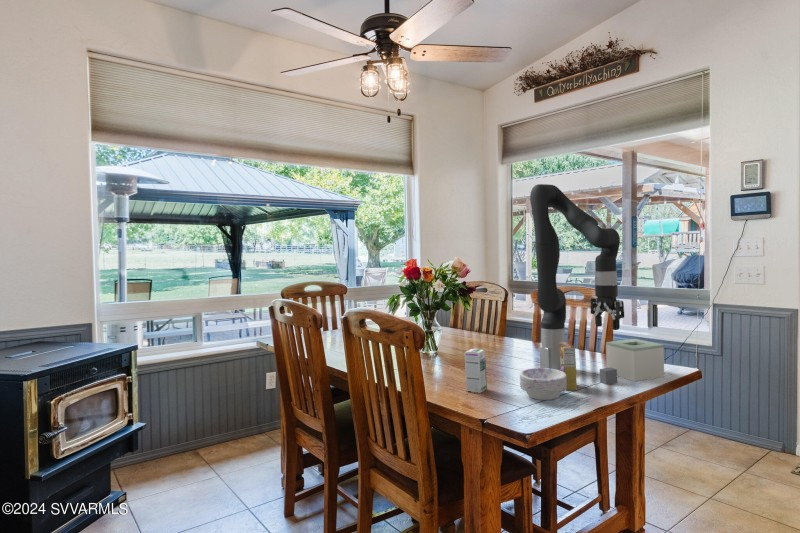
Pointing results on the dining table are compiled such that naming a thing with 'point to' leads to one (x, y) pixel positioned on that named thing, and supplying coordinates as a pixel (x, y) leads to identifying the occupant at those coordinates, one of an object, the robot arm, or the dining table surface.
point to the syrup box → (475, 370)
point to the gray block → (608, 375)
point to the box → (636, 359)
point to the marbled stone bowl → (543, 383)
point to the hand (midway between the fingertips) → (607, 328)
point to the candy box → (568, 364)
